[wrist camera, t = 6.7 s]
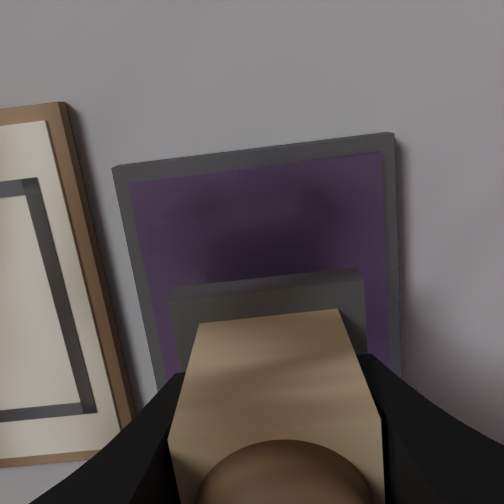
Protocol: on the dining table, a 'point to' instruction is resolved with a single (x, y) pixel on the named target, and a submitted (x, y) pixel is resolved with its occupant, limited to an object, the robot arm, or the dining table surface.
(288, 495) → the stamp
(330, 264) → the ink pad
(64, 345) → the board
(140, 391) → the dining table surface
